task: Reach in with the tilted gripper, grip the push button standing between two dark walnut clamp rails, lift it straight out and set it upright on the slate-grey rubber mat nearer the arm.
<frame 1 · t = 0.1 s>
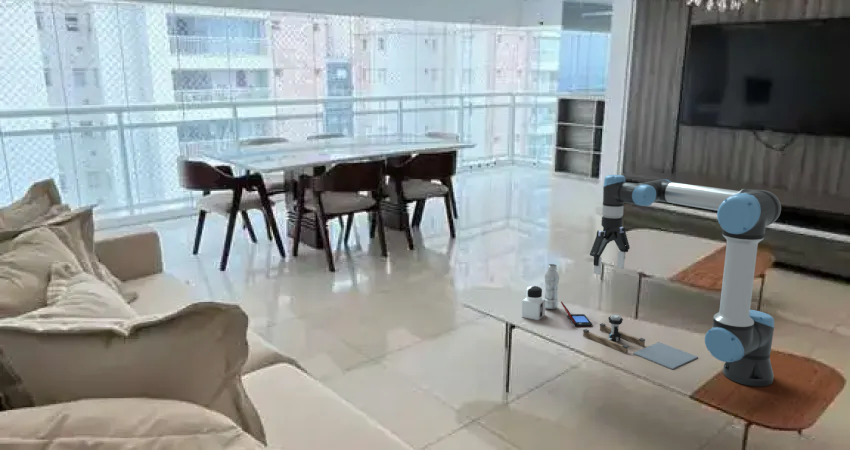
hand: (608, 270, 232), 28 cm above the table, tool pointing down, fingers open, 13 cm apart
plastic bottle: (550, 308, 272), on the table
handheld game console: (575, 322, 257), on the table
slate mat: (665, 355, 223), on the table
container: (533, 316, 263), on the table
push button: (613, 341, 237), on the table
clamp rails: (613, 340, 237), on the table
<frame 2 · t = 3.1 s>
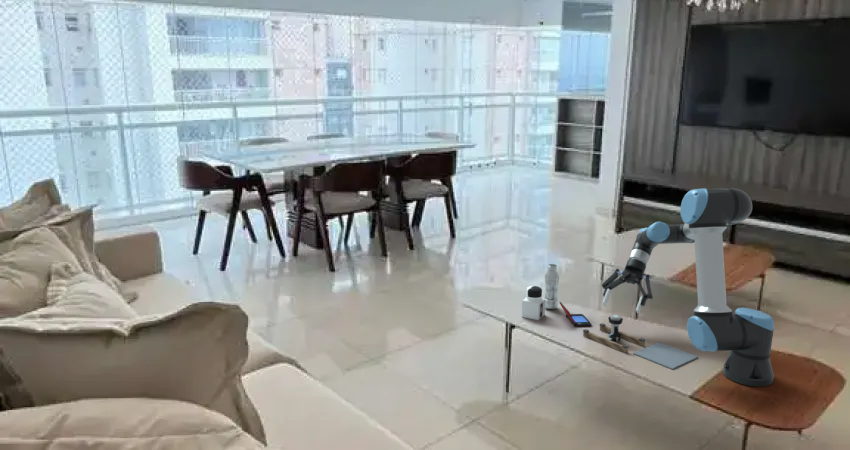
hand: (620, 308, 240), 11 cm above the table, tool tilted 45°, fingers open, 13 cm apart
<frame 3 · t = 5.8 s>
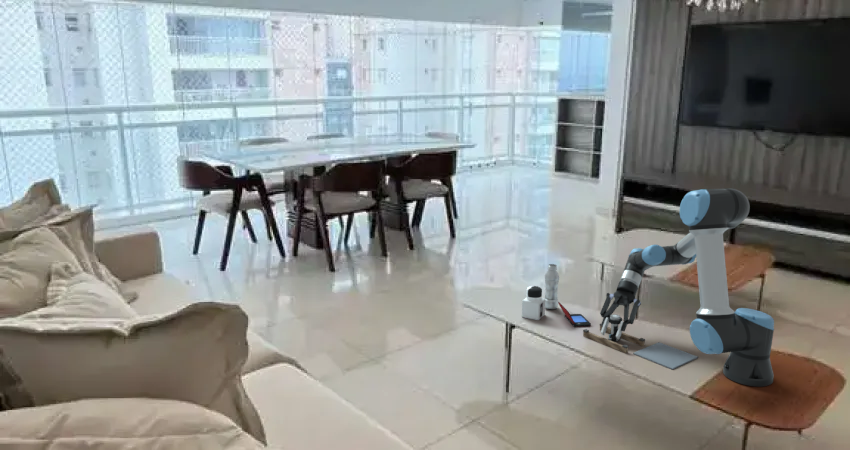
hand: (609, 335, 233), 3 cm above the table, tool tilted 45°, fingers closed on push button, 5 cm apart
push button: (613, 341, 237), on the table, touching gripper
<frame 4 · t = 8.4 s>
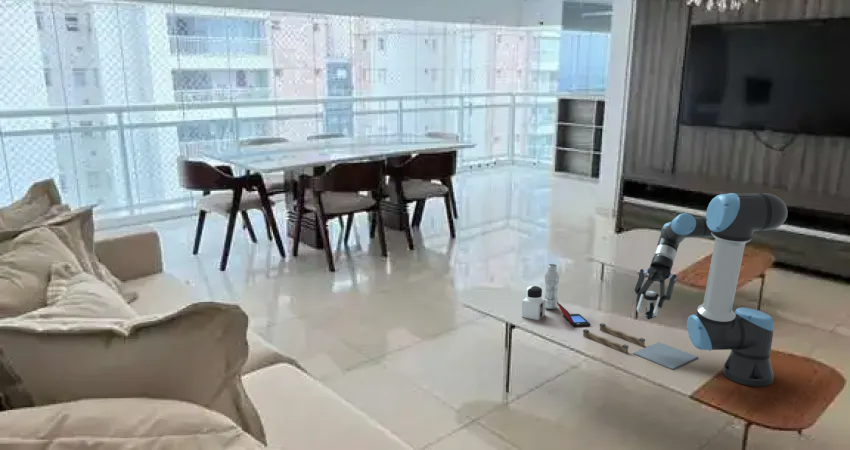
hand: (646, 312, 223), 16 cm above the table, tool tilted 45°, fingers closed on push button, 5 cm apart
push button: (649, 318, 226), point 12 cm above the table, touching gripper
when the fingers open (5 cm above the table, at t = 11.3 s): push button moves 1 cm, resting on slate mat.
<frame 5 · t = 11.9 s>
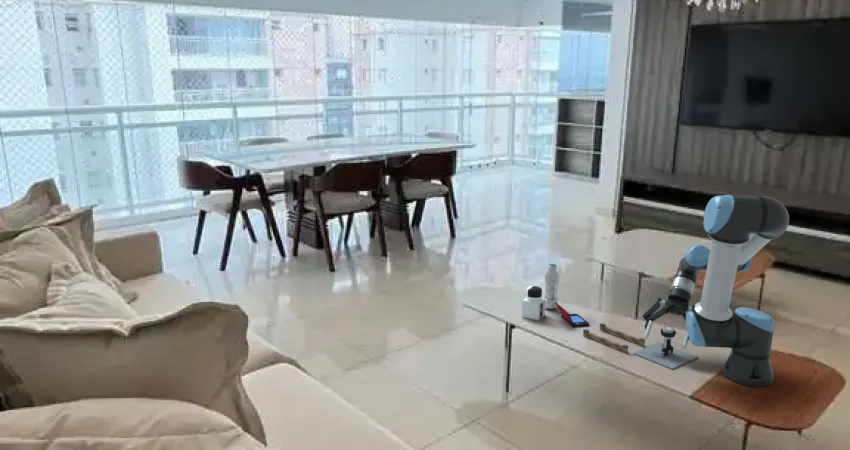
hand: (664, 342, 220), 6 cm above the table, tool tilted 45°, fingers open, 13 cm apart
push button: (665, 354, 223), resting on slate mat
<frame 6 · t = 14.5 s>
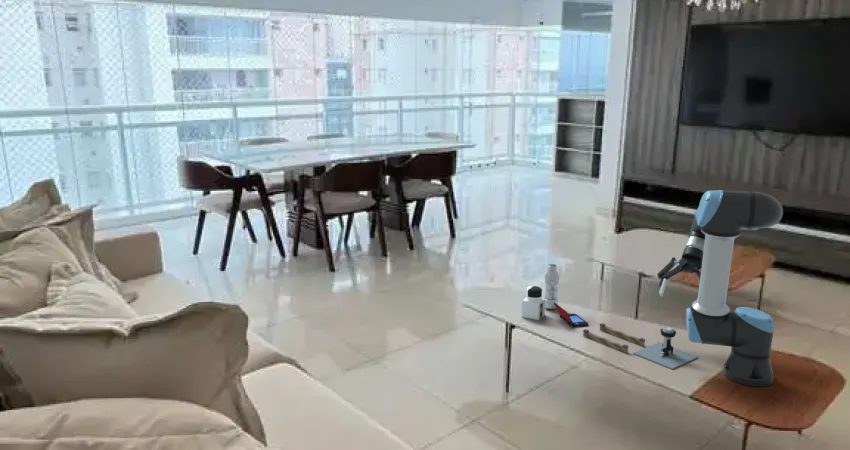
hand: (679, 298, 227), 19 cm above the table, tool tilted 45°, fingers open, 13 cm apart
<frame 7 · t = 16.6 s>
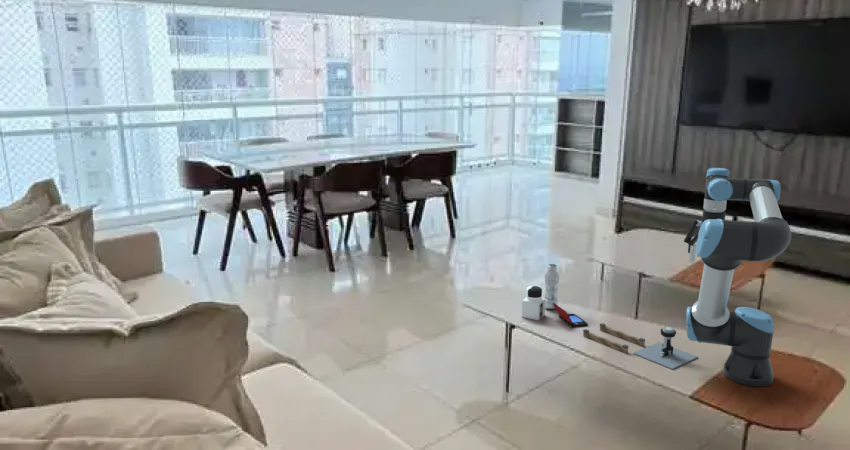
hand: (708, 265, 228), 31 cm above the table, tool pointing down, fingers open, 13 cm apart
at the end: push button inside the target area on the slate mat (0.1 cm from its centre), point 0.3 cm above the slate mat's base; push button tilted 0°; the gripper is holding nothing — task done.
